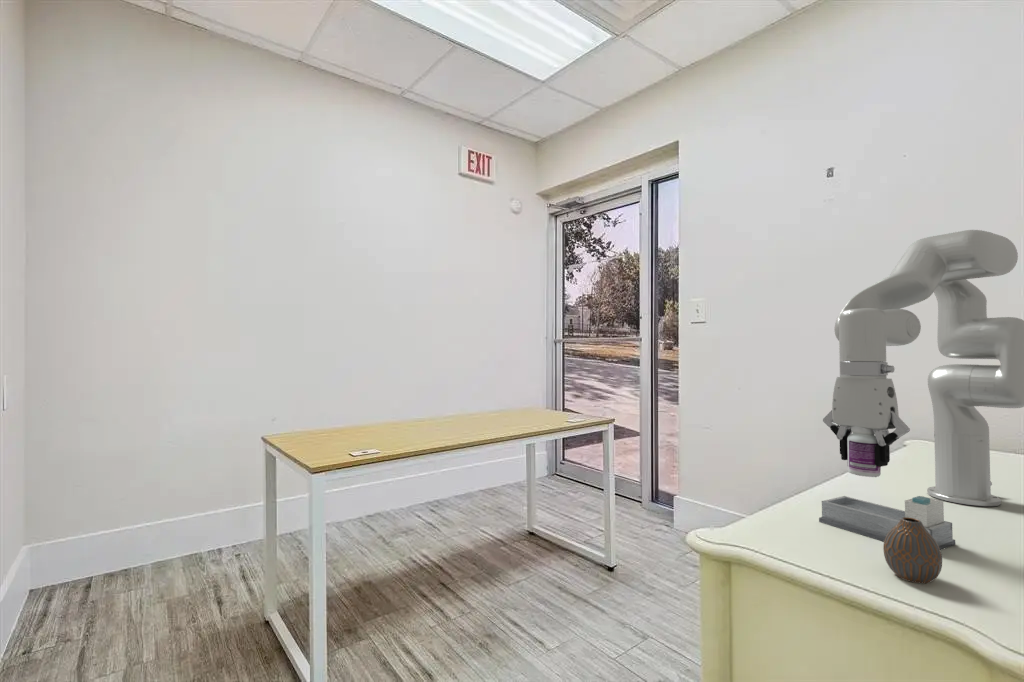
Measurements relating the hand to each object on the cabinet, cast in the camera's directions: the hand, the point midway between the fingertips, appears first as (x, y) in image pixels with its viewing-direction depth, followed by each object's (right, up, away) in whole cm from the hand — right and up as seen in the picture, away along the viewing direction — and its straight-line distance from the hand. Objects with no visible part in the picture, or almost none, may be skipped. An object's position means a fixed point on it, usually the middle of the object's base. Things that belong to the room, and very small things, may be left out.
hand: (863, 461), depth 94 cm
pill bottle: (0, -3, 0) cm, 3 cm away
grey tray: (+1, -13, -3) cm, 13 cm away
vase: (-8, -13, -21) cm, 26 cm away
